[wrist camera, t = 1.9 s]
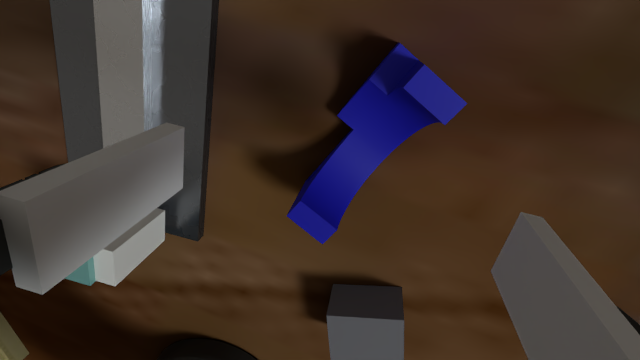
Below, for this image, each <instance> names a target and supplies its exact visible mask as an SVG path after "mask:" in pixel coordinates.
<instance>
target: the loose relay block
mask: <svg viewBox="0 0 640 360" xmlns="http://www.w3.org/2000/svg"><path fill="white" fill-rule="evenodd" d="M326 316H327V326H328V336H329V347H330V357H331V360H404V313H403V298H402V287H391V286H368V285H345V284H333V286H332V291H331V296H330V301H329V306H328V310H327V315H326Z"/></svg>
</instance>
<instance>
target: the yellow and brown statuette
mask: <svg viewBox="0 0 640 360" xmlns="http://www.w3.org/2000/svg"><path fill="white" fill-rule="evenodd" d="M28 354H29V352H28V350H27V349H26V348H25V346H24V345H23V343H22V342H21V341H20V339H19V338H18V336H17V335H16V333H15V332H14V331H13V329H12V328H11V326H10V325H9V323H8V322H7V321H6V319H5V318H4V316H3V315H2V313H1V312H0V360H23V359H24V358H25V357H26V356H27V355H28Z"/></svg>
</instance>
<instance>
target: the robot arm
mask: <svg viewBox="0 0 640 360" xmlns="http://www.w3.org/2000/svg"><path fill="white" fill-rule="evenodd" d="M184 129H185V127H182V126H178V125H174V124H170V123H164V124H162V125H159V126H157V127H154V128H152V129H150V130H147V131H145V132H142V133H140V134H137V135H135V136H133V137H130V138H128V139H125V140H123V141H120V142H118V143H115V144H113V145H111V146H108V147H106V148H103V149H101V150H98V151H96V152H94V153H91V154H89V155H86V156H84V157H81V158H79V159H76V160H74V161H72V162H69V163H67V164H62V165H57V166H54V167H51V168H49V169H46V170H44V171H41V172H39V174H34V175H31V176H29V177H26V178H25V180H22V179H21V180H19V181H16V182H14V183H11V184H9V185H6V186H4V187H1V188H0V275H2V274H4V273H5V272H7V271H8V270H10V269H12V272H13V276H14V280H15V285H16V287H19V288H22V289H25V290H28V291H32V292H35V293H38V294H41V295H43V294H44V293H46V292H47V291H48V290H50V289H51V288H52V287H54V286H55V285H56V284H58V283H59V282H60V281H62V280H63V279H64V278H66V277H67V276H68V275H69V274H71V273H72V272H73V271H75V270H76V269H77V268H79V267H80V266H81V265H83V264H84V263H85V262H87V261H88V260H89V259H90V258H92V257H93V256H94V255H96V254H97V253H98V252H100V251H101V250H102V249H104V248H105V247H106V246H108V245H109V244H110V243H111V242H113V241H114V240H115V239H117V238H118V237H119V236H121V235H122V234H123V233H125V232H126V231H127V230H129V229H130V228H131V227H133V226H134V225H135V224H136V223H138V222H139V221H140V220H142V219H143V218H144V217H146V216H147V215H148V214H150V213H151V212H152V211H154V210H155V209H156V208H157V207H159V206H160V205H161V204H163V203H164V202H165V201H167V200H168V199H169V198H171V197H172V196H173V195H175V194H176V193H177V192H178V191H180V190H181V189H182V188H183V166H184ZM491 273H492V275H493V277H494V280H495V282H496V285H497V287H498V289H499V292H500V294H501V296H502V299H503V301H504V303H505V306H506V308H507V310H508V313H509V315H510V317H511V320H512V322H513V324H514V327H515V329H516V331H517V334H518V336H519V339H520V341H521V343H522V346H523V348H524V350H525V353H526V355H527V357H528V360H640V325H639V324H638V323H637V322H636V321H635V320H633V319H632V318H631V317H630V316H628V315H627V314H626V313H625V312H624V311H622V310H621V309H620V308H619V307H616V306H615V305H614V303H613V302H612V301H611V300H610V298H609V297H608V296H607V295H606V294H605V292H604V291H603V290H602V289H601V288H600V286H599V285H598V284H597V283H596V282H595V280H594V279H593V278H592V277H591V276H590V274H589V273H588V272H587V271H586V269H585V268H584V267H583V266H582V265H581V263H580V262H579V261H578V260H577V259H576V257H575V256H574V255H573V254H572V253H571V251H570V250H569V249H568V248H567V246H566V245H565V244H564V243H563V242H562V240H561V239H560V238H559V237H558V236H557V234H556V233H555V232H554V231H553V230H552V228H551V227H550V226H549V225H548V223H547V222H546V221H545V220H544V219H543V218H542V217H539V216H535V215H531V214H527V213H523V212H521V213H520V215H519V217H518V219H517V221H516V223H515V225H514V227H513V229H512V231H511V233H510V235H509V237H508V238H507V240H506V242H505V244H504V246H503V248H502V250H501V252H500V254H499V256H498V258H497V260H496V262H495V264H494V266H493V268H492V270H491ZM157 360H256V359H255V358H254V357H252V356H251V355H249V354H248V353H246V352H244V351H242V350H240V349H238V348H236V347H234V346H231V345H229V344H226V343H223V342H219V341H215V340H209V339H187V340H182V341H178V342H176V343H173V344H171V345H170V346H168V347H167V348H166V349H164V350H163V352H162V353H161V354H160V356H159V357H158V358H157Z"/></svg>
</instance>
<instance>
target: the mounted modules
mask: <svg viewBox="0 0 640 360" xmlns="http://www.w3.org/2000/svg"><path fill="white" fill-rule="evenodd" d="M164 240H165V210H162V209H159V208H156V209H155V210H154V211H152V212H151V213H150V214H148V215H147V216H146V217H144V218H143V219H142V220H140V221H139V222H138V223H136V224H135V225H134V226H133V227H131V228H130V229H129V230H127V231H126V232H125V233H123V234H122V235H121V236H119V237H118V238H117V239H115V240H114V241H113V242H111V243H110V244H109V245H108V246H106V247H105V248H104V249H102V250H101V251H100V252H98V253H97V254H96V255H94V256H93V257H92V258H90V259H89V260H88V261H87V262H85V263H84V264H83V265H81V266H80V267H79V268H77V269H76V270H75V271H73V272H72V273H71V274H69V275H68V276H67V277H66V278H65V279H68V280H72V281H75V282H79V283H82V284H85V285H89V286H91V285H92V284H93V283H94V282H95V281H98V282H102V283H105V284H109V285H112V286H116V285H117V284H118V283H119V282H120V281H122V280H123V279H124V278H125V277H126V276H127V275H128V274H129V273H130V272H131V271H132V270H133V269H134V268H135V267H137V266H138V265H139V264H140V263H141V262H142V261H143V260H144V259H145V258H146V257H147V256H148V255H149V254H150V253H152V252H153V251H154V250H155V249H156V248H157V247H158V246H159V245H160V244H161V243H162V242H163V241H164Z"/></svg>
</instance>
